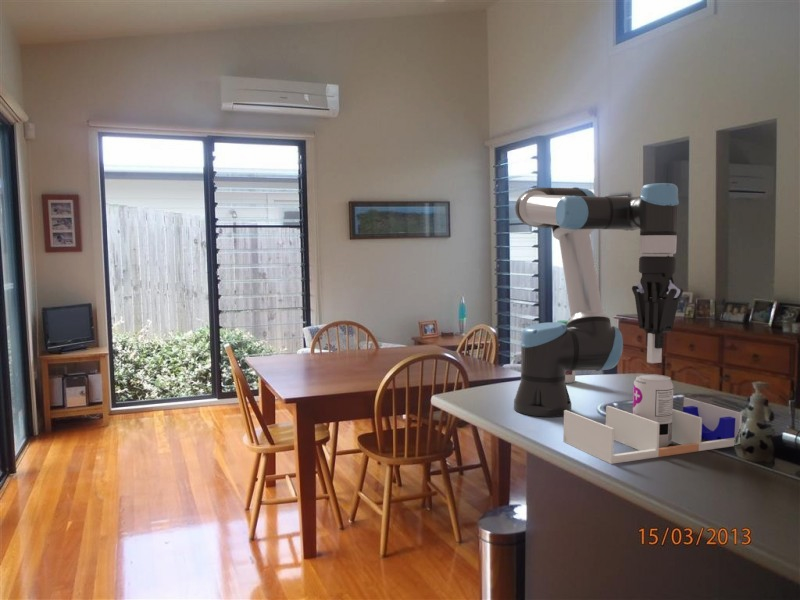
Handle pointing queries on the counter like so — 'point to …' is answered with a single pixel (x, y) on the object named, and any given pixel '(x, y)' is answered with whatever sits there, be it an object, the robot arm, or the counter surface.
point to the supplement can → (655, 403)
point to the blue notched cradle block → (723, 429)
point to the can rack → (646, 432)
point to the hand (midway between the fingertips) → (654, 362)
